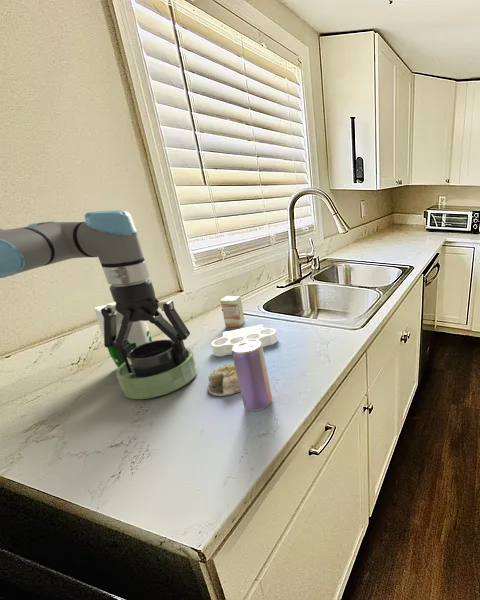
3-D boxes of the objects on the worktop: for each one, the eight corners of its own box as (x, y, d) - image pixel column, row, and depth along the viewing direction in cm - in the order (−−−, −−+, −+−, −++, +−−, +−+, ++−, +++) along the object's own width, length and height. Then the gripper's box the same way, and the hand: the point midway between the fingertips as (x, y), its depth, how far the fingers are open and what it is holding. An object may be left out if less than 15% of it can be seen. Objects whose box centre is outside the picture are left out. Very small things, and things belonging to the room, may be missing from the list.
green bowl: (106, 398, 76) (97, 377, 74) (160, 363, 91) (154, 344, 88) (165, 404, 74) (158, 382, 72) (210, 367, 89) (205, 347, 87)
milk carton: (163, 363, 91) (142, 296, 84) (123, 378, 84) (97, 307, 77) (150, 354, 96) (129, 290, 88) (112, 368, 89) (86, 300, 82)
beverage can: (259, 415, 71) (247, 354, 65) (238, 408, 73) (224, 349, 67) (277, 398, 76) (267, 341, 70) (257, 393, 78) (246, 337, 72)
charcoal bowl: (123, 378, 77) (115, 358, 75) (157, 356, 86) (151, 338, 84) (159, 381, 76) (153, 360, 74) (190, 359, 85) (185, 340, 83)
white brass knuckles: (272, 328, 111) (280, 347, 99) (213, 341, 103) (213, 363, 91) (271, 319, 109) (279, 337, 97) (210, 331, 101) (210, 352, 89)
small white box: (225, 327, 112) (219, 300, 109) (231, 322, 116) (225, 295, 113) (240, 327, 112) (234, 300, 109) (245, 321, 116) (240, 295, 113)
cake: (234, 371, 88) (231, 353, 86) (260, 381, 83) (259, 362, 82) (198, 389, 79) (194, 369, 77) (225, 401, 75) (223, 380, 73)
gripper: (58, 291, 67) (95, 382, 75) (178, 283, 72) (202, 369, 80) (83, 280, 74) (115, 364, 82) (191, 273, 79) (211, 354, 87)
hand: (157, 367), depth 81 cm, fingers closed on charcoal bowl, 10 cm apart
